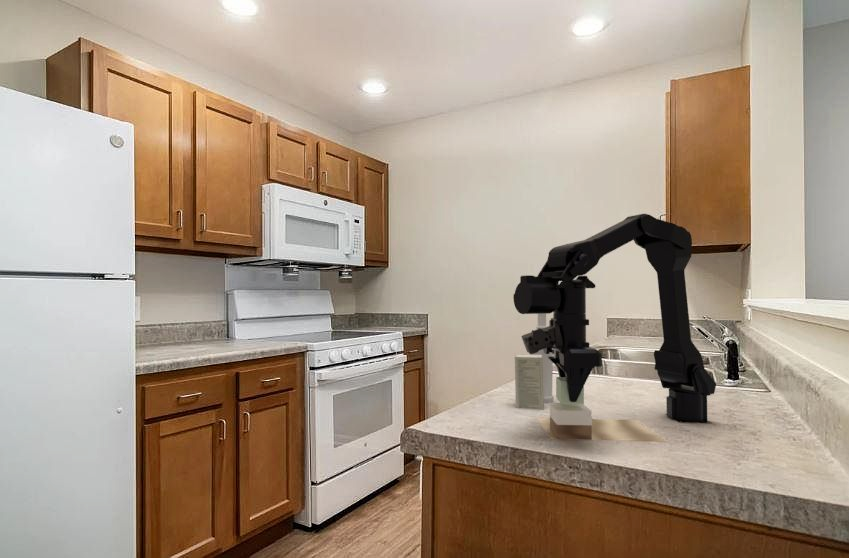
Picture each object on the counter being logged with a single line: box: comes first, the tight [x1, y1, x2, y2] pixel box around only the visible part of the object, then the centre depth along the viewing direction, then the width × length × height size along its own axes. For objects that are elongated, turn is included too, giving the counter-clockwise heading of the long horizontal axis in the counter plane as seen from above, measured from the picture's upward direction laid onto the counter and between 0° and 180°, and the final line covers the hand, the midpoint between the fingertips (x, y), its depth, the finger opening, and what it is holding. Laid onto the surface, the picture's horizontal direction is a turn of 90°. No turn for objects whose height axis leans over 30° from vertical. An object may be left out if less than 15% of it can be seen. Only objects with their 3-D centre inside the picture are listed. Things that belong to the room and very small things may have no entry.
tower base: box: [549, 416, 593, 441], centre depth 87 cm, size 6×6×2 cm
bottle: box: [530, 314, 554, 404], centre depth 114 cm, size 5×5×25 cm
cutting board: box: [536, 417, 669, 443], centre depth 90 cm, size 20×14×1 cm
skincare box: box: [514, 353, 545, 410], centre depth 108 cm, size 6×4×12 cm
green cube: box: [555, 376, 585, 405], centre depth 87 cm, size 4×4×4 cm
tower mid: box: [549, 402, 593, 425], centre depth 87 cm, size 6×6×2 cm
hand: (570, 399), depth 87 cm, fingers closed on green cube, 4 cm apart
